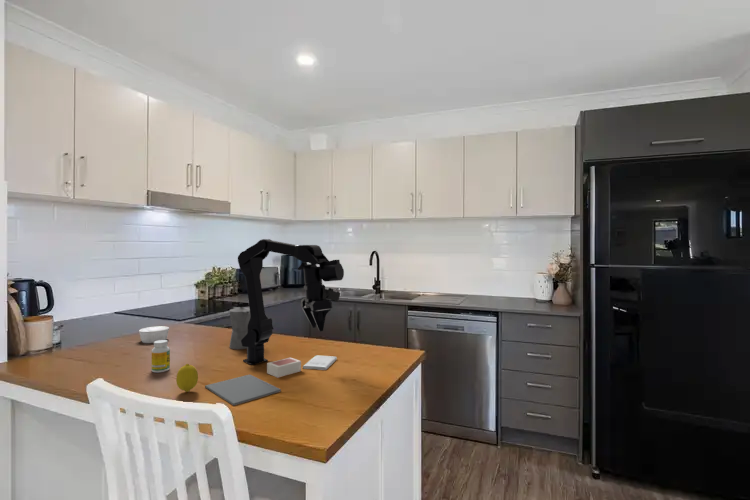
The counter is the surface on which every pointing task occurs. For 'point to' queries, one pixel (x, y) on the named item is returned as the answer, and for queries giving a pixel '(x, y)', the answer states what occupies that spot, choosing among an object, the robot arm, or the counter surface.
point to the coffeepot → (239, 325)
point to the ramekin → (153, 334)
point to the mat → (242, 389)
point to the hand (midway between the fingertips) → (317, 329)
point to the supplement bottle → (160, 356)
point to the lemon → (187, 377)
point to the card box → (283, 367)
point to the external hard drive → (320, 362)
